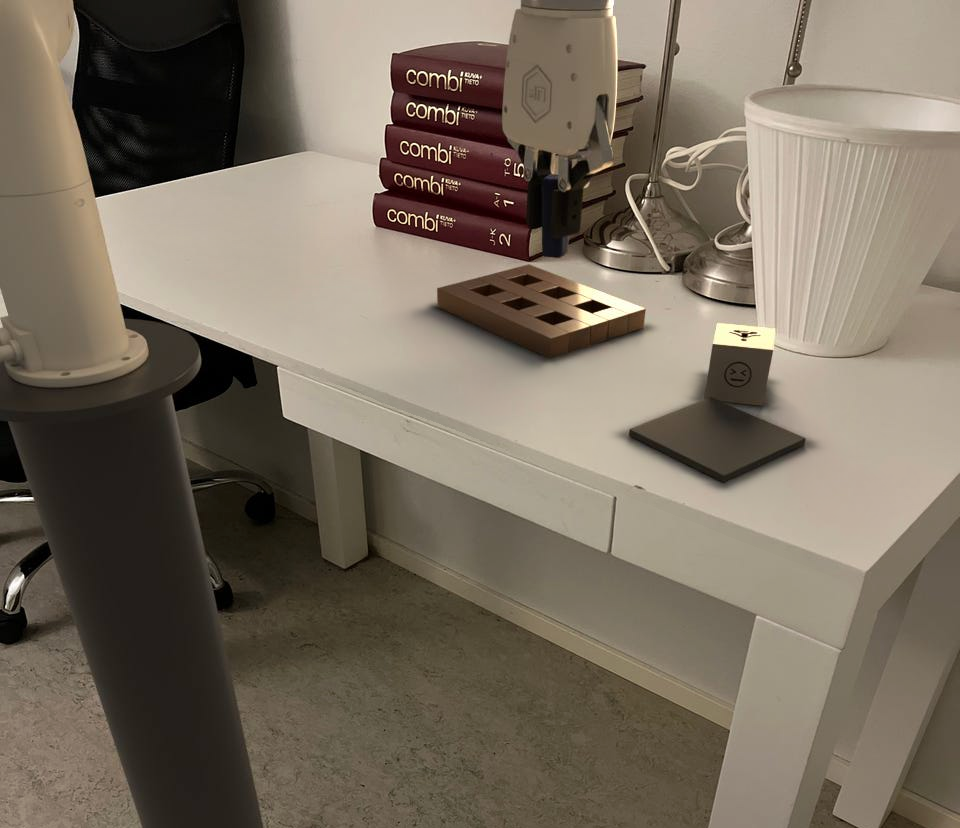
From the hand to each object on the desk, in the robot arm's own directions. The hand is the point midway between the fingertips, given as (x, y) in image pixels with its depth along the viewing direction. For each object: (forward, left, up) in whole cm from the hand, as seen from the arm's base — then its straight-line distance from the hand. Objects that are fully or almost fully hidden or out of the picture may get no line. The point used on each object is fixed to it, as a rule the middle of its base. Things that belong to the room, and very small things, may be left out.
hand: (552, 228), depth 89 cm
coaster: (-4, -25, -10) cm, 27 cm away
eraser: (0, 0, -2) cm, 3 cm away
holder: (+3, +5, -10) cm, 12 cm away
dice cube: (+5, -20, -11) cm, 23 cm away
